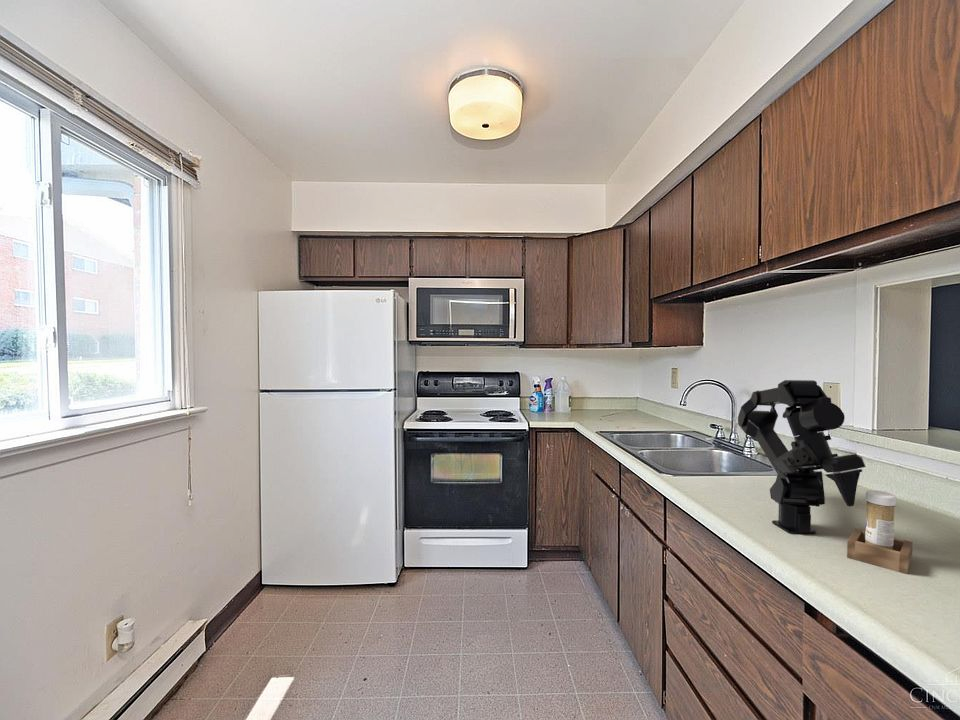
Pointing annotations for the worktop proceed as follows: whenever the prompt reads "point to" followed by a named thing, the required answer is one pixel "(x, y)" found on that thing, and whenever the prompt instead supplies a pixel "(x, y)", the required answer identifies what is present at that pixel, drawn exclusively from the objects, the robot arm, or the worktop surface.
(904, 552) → the walnut collar
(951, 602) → the worktop surface
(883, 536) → the sprinkles bottle
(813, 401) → the robot arm
